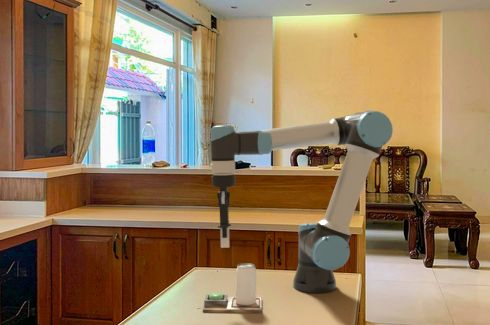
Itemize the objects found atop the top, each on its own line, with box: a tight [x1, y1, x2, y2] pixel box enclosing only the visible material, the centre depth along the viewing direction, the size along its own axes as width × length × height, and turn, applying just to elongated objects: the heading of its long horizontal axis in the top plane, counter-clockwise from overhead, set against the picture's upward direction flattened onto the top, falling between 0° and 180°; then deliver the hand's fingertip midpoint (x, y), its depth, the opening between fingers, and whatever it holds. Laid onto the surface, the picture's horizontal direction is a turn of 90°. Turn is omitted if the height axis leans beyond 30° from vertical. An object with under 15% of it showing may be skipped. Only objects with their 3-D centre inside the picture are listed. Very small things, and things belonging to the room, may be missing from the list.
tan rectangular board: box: [202, 293, 263, 314], centre depth 162 cm, size 18×13×3 cm
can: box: [235, 262, 257, 306], centre depth 162 cm, size 6×6×12 cm
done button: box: [209, 292, 224, 300], centre depth 162 cm, size 4×4×2 cm
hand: (225, 247), depth 164 cm, fingers closed
